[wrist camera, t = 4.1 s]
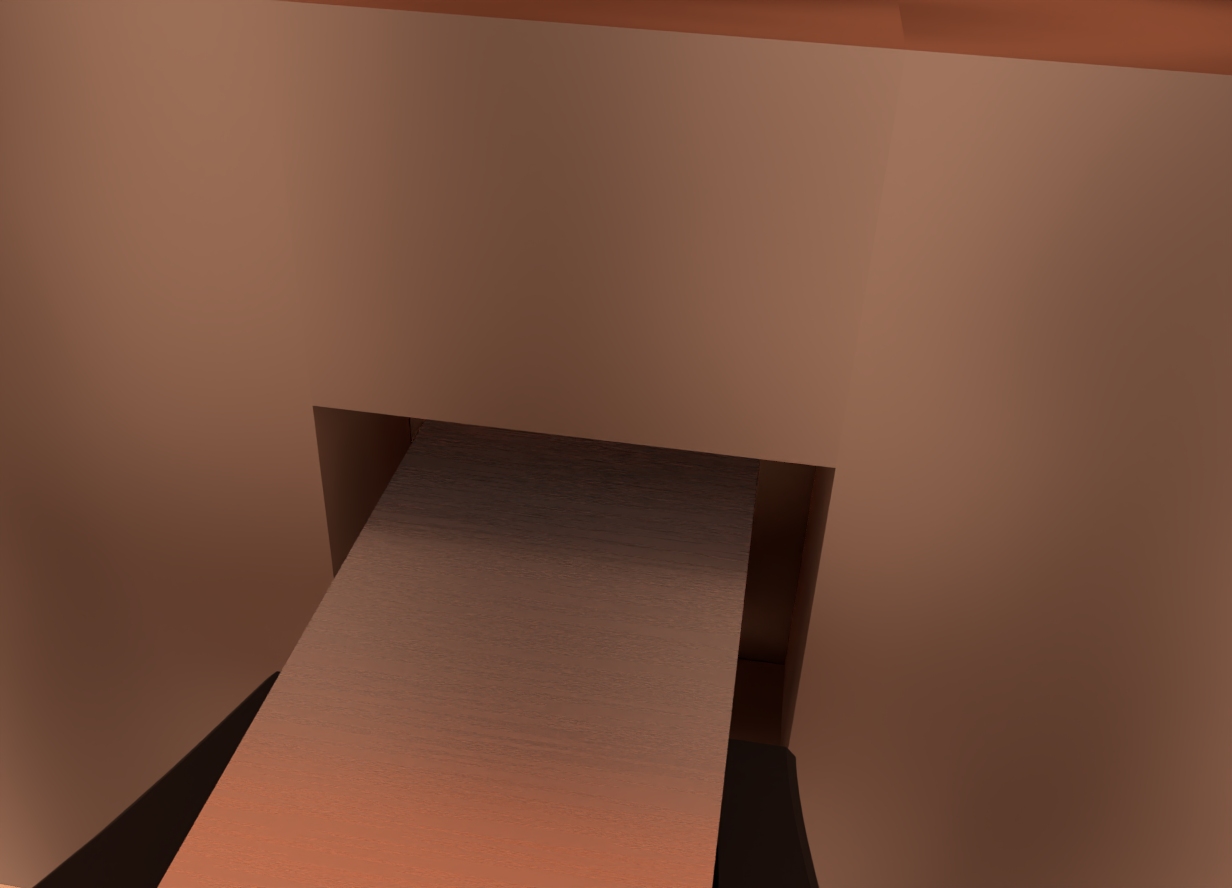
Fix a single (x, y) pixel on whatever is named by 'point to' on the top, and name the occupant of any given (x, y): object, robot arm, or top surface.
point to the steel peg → (503, 680)
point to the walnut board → (645, 375)
